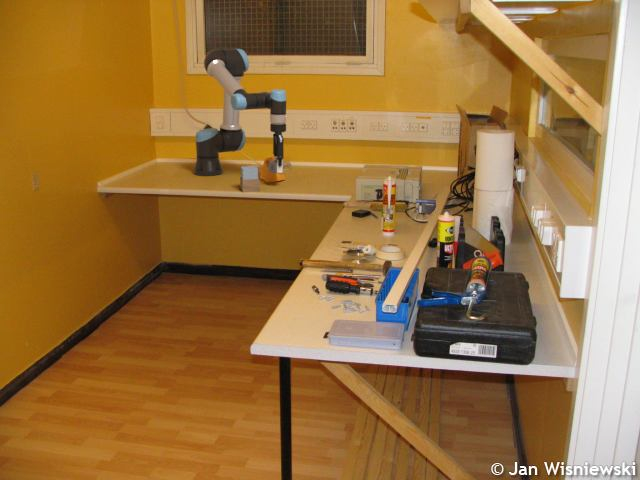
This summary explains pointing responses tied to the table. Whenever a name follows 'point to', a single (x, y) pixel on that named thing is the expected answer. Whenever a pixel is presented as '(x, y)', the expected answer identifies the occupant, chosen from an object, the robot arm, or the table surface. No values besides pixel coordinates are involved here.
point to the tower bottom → (250, 185)
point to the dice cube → (273, 166)
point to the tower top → (249, 172)
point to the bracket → (269, 175)
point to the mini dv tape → (425, 206)
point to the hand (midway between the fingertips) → (278, 170)
